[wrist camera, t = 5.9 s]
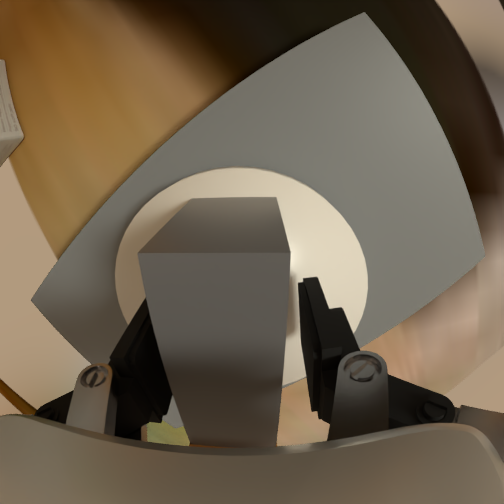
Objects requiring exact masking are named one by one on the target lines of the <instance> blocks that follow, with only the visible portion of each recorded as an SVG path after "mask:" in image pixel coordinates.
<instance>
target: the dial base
mask: <svg viewBox="0 0 504 504" xmlns="http://www.w3.org/2000/svg"><path fill="white" fill-rule="evenodd" d="M229 166H250V167H258V168H264V169H269V170H274V171H276V172H279V173H282V174H285V175H288V176H291V177H293V178H295V179H297V180H299V181H301V182H303V183H304V184H306V185H308V186H309V187H311V188H312V189H313V190H315V191H316V192H318V193H319V194H320V195H322V196H323V197H324V198H325V199H326V200H327V201H328V202H329V203H330V204H331V205H332V206H333V207H334V208H335V209H336V210H337V211H338V212H339V213H340V214H341V215H342V217H343V218H344V219H345V220H346V222H347V223H348V224H349V226H350V227H351V229H352V230H353V232H354V234H355V236H356V238H357V240H358V242H359V243H360V246H361V249H362V252H363V255H364V258H365V262H366V268H367V274H368V292H367V299H366V305H365V308H364V312H363V315H362V318H361V320H360V322H359V325H358V327H357V329H356V331H355V332H354V336H355V339H356V341H357V344H358V346H359V348H361V347H363V346H364V345H366V344H368V343H369V342H371V341H373V340H374V339H376V338H377V337H379V336H381V335H382V334H384V333H385V332H387V331H389V330H390V329H392V328H393V327H395V326H396V325H398V324H399V323H401V322H402V321H404V320H405V319H407V318H408V317H409V316H411V315H412V314H414V313H415V312H417V311H418V310H419V309H421V308H422V307H424V306H425V305H426V304H428V303H429V302H430V301H432V300H433V299H434V298H436V297H437V296H438V295H440V294H441V293H442V292H444V291H445V290H446V289H447V288H449V287H450V286H451V285H452V284H454V283H455V282H456V281H457V280H459V279H460V278H461V277H462V276H463V275H465V274H466V273H467V272H468V271H469V270H470V269H472V268H473V267H474V266H475V265H476V264H477V263H478V262H480V261H481V260H482V259H483V258H484V257H485V252H484V248H483V243H482V239H481V235H480V231H479V227H478V224H477V220H476V216H475V213H474V210H473V206H472V203H471V200H470V197H469V194H468V191H467V188H466V185H465V183H464V180H463V177H462V174H461V172H460V169H459V167H458V164H457V162H456V159H455V157H454V155H453V152H452V150H451V148H450V145H449V143H448V141H447V139H446V137H445V134H444V132H443V130H442V128H441V126H440V124H439V122H438V120H437V118H436V116H435V114H434V112H433V111H432V109H431V107H430V105H429V103H428V101H427V100H426V98H425V96H424V94H423V93H422V91H421V89H420V88H419V86H418V84H417V83H416V81H415V79H414V78H413V76H412V75H411V73H410V72H409V70H408V69H407V67H406V66H405V64H404V63H403V61H402V60H401V58H400V57H399V55H398V54H397V52H396V51H395V50H394V48H393V47H392V46H391V44H390V43H389V42H388V40H387V39H386V38H385V36H384V35H383V34H382V33H381V31H380V30H379V29H378V28H377V26H376V25H375V24H374V23H373V21H372V20H371V19H370V18H369V17H368V16H367V14H366V13H365V12H364V13H362V14H359V15H357V16H355V17H353V18H350V19H348V20H346V21H344V22H342V23H340V24H338V25H336V26H334V27H332V28H330V29H328V30H326V31H324V32H322V33H320V34H318V35H316V36H314V37H312V38H311V39H309V40H307V41H305V42H303V43H302V44H300V45H298V46H296V47H295V48H293V49H291V50H290V51H288V52H286V53H285V54H283V55H281V56H280V57H278V58H276V59H275V60H273V61H272V62H270V63H268V64H267V65H265V66H264V67H262V68H261V69H259V70H258V71H256V72H255V73H253V74H252V75H250V76H249V77H247V78H246V79H245V80H243V81H242V82H240V83H239V84H237V85H236V86H235V87H233V88H232V89H230V90H229V91H228V92H226V93H225V94H224V95H222V96H221V97H220V98H218V99H217V100H216V101H214V102H213V103H212V104H211V105H209V106H208V107H207V108H205V109H204V110H203V111H202V112H200V113H199V114H198V115H197V116H196V117H194V118H193V119H192V120H191V121H189V122H188V123H187V124H186V125H185V126H184V127H182V128H181V129H180V130H179V131H178V132H177V133H175V134H174V135H173V136H172V137H171V138H170V139H169V140H168V141H166V142H165V143H164V144H163V145H162V146H161V147H160V148H159V149H158V150H157V151H155V152H154V153H153V154H152V155H151V156H150V157H149V158H148V159H147V160H146V161H145V162H144V163H143V164H142V165H141V166H140V167H139V168H138V169H137V170H136V171H135V172H134V173H133V174H132V175H131V176H130V177H129V178H128V179H127V180H126V181H125V182H124V183H123V184H122V185H121V186H120V187H119V188H118V189H117V190H116V191H115V192H114V194H113V195H112V196H111V197H110V198H109V199H108V200H107V201H106V202H105V203H104V205H103V206H102V207H101V208H100V209H99V210H98V211H97V213H96V214H95V215H94V216H93V217H92V218H91V219H90V221H89V222H88V223H87V224H86V225H85V227H84V228H83V229H82V230H81V232H80V233H79V234H78V235H77V236H76V238H75V239H74V240H73V241H72V243H71V244H70V245H69V247H68V248H67V249H66V251H65V252H64V253H63V254H62V256H61V257H60V259H59V260H58V261H57V263H56V264H55V265H54V267H53V268H52V270H51V271H50V272H49V274H48V275H47V277H46V278H45V280H44V281H43V283H42V284H41V285H40V287H39V288H38V290H37V291H36V293H35V295H34V296H33V298H32V299H31V301H32V302H33V303H34V305H35V306H36V307H37V308H38V309H39V311H40V312H41V313H42V314H43V315H44V316H45V317H46V319H47V320H48V321H49V322H50V323H51V324H52V325H53V326H54V327H55V328H56V330H57V331H59V332H60V334H61V335H62V336H63V337H64V338H65V339H66V340H67V341H68V342H69V343H70V344H71V345H72V346H73V347H74V348H75V349H76V350H77V351H78V352H79V353H80V354H81V355H82V356H83V357H84V358H85V359H87V360H88V361H89V362H90V363H91V364H96V363H105V364H107V365H108V363H109V361H110V358H109V357H110V355H111V354H112V352H113V350H114V348H115V347H116V345H117V343H118V342H119V340H120V338H121V337H122V335H123V333H124V331H125V330H126V328H127V327H128V324H127V322H126V320H125V318H124V316H123V313H122V310H121V308H120V305H119V302H118V297H117V292H116V285H115V267H116V258H117V254H118V250H119V246H120V243H121V241H122V238H123V236H124V234H125V231H126V230H127V228H128V226H129V225H130V223H131V222H132V220H133V218H134V217H135V216H136V215H137V213H138V212H139V211H140V210H141V209H142V208H143V206H144V205H145V204H146V203H148V202H149V201H150V200H151V199H152V198H154V197H155V196H156V195H157V194H158V193H160V192H161V191H163V190H165V189H166V188H168V187H170V186H171V185H173V184H175V183H176V182H178V181H180V180H182V179H183V178H186V177H188V176H191V175H193V174H196V173H198V172H201V171H205V170H209V169H213V168H218V167H229ZM304 378H306V377H304ZM304 378H302V379H304ZM299 380H301V379H299ZM299 380H297V381H299ZM297 381H295V382H297ZM295 382H292V383H289V384H286V385H282V388H285V387H287V386H289V385H291V384H293V383H295ZM162 420H164V421H165V422H167V423H168V424H170V425H171V426H173V427H174V428H179V427H182V426H184V425H183V422H182V420H181V417H180V414H179V411H178V408H177V406H176V403H175V400H174V397H173V396H172V399H171V403H170V406H169V410H168V413H167V415H165V416H164V415H163V418H162Z"/></svg>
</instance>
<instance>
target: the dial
mask: <svg viewBox="0 0 504 504" xmlns="http://www.w3.org/2000/svg"><path fill="white" fill-rule="evenodd" d="M309 277H318V279H319V282H320V285H321V287H322V290H323V293H324V295H325V298H326V301H327V304H328V307H329V309H331V308H339V307H342V308H343V310H344V312H345V315H346V317H347V319H348V322H349V324H350V327H351V329H352V331H353V334H354V332H355V331H356V329H357V327H358V325H359V322H360V320H361V318H362V315H363V312H364V308H365V305H366V299H367V292H368V274H367V268H366V262H365V258H364V255H363V252H362V249H361V246H360V243H359V242H358V240H357V238H356V236H355V234H354V232H353V230H352V229H351V227H350V226H349V224H348V223H347V222H346V220H345V219H344V218H343V217H342V215H341V214H340V213H339V212H338V211H337V210H336V209H335V208H334V207H333V206H332V205H331V204H330V203H329V202H328V201H327V200H326V199H325V198H324V197H323V196H322V195H320V194H319V193H318V192H316V191H315V190H313V189H312V188H311V187H309V186H308V185H306V184H304V183H303V182H301V181H299V180H297V179H295V178H293V177H291V176H288V175H285V174H282V173H279V172H276V171H274V170H269V169H264V168H258V167H250V166H229V167H218V168H213V169H209V170H205V171H201V172H198V173H196V174H193V175H191V176H188V177H186V178H183V179H182V180H180V181H178V182H176V183H175V184H173V185H171V186H170V187H168V188H166V189H165V190H163V191H161V192H160V193H158V194H157V195H156V196H155V197H154V198H152V199H151V200H150V201H149V202H148V203H146V204H145V205H144V206H143V208H142V209H141V210H140V211H139V212H138V213H137V215H136V216H135V217H134V218H133V220H132V222H131V223H130V225H129V226H128V228H127V230H126V231H125V234H124V236H123V238H122V241H121V243H120V246H119V250H118V254H117V258H116V267H115V285H116V292H117V297H118V302H119V305H120V308H121V310H122V313H123V316H124V318H125V320H126V322H127V324H128V325H129V323H130V322H131V320H132V318H133V317H134V315H135V313H136V312H137V310H138V309H139V307H140V305H141V304H142V302H143V301H144V299H145V298H146V300H147V304H148V308H149V313H150V317H151V321H152V325H153V329H154V333H155V337H156V340H157V344H158V348H159V351H160V355H161V358H162V362H163V365H164V369H165V372H166V375H167V378H168V382H169V385H170V388H171V391H172V394H173V397H174V400H175V403H176V406H177V408H178V411H179V414H180V417H181V420H182V422H183V425H184V428H185V430H186V433H187V435H188V438H189V441H190V445H189V446H192V447H210V448H258V447H277V443H276V441H277V432H278V423H279V413H280V403H281V393H282V385H286V384H289V383H292V382H295V381H297V380H299V379H302V378H304V377H306V371H305V365H304V359H303V353H302V347H301V338H300V316H299V297H298V282H303V278H309Z"/></svg>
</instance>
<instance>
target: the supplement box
mask: <svg viewBox="0 0 504 504" xmlns="http://www.w3.org/2000/svg"><path fill="white" fill-rule="evenodd" d="M23 138H24V135H23V132H22V130H21V127H20V125H19V122H18V119H17V115H16V112H15V109H14V105H13V102H12V98H11V93H10V89H9V84H8V80H7V73H6V67H5V60H1V59H0V167H1V165H2V164H3V163H4V162H5V160H6V159H7V158H8V157H9V155H10V154H11V153H12V152H13V150H14V149H15V148H16V147H17V146H18V145H19V144H20V142H21V141H22V140H23Z"/></svg>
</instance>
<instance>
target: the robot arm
mask: <svg viewBox="0 0 504 504" xmlns="http://www.w3.org/2000/svg"><path fill="white" fill-rule="evenodd" d="M298 297H299V316H300V338H301V347H302V353H303V359H304V365H305V371H306V378H307V384H308V391H309V397H310V404H311V410H312V412H314V411H317V412H318V418H319V419H322V420H323V421H325V422H327V423H329V424H330V428H329V433H328V439H327V441H324V442H317V443H309V444H300V445H290V446H277V447H258V448H210V447H192V446H179V445H169V444H160V443H152V442H147V425H146V424H147V423H149V422H156V423H161V422H162V418H163V415H164V416H165V415H167V413H168V410H169V406H170V403H171V399H172V396H173V394H172V391H171V388H170V385H169V382H168V378H167V375H166V372H165V369H164V365H163V362H162V358H161V355H160V351H159V348H158V344H157V340H156V337H155V333H154V329H153V325H152V321H151V317H150V313H149V308H148V304H147V300H146V298H145V299H144V301H143V302H142V304H141V305H140V307H139V309H138V310H137V312H136V313H135V315H134V317H133V318H132V320H131V322H130V323H129V325H128V327H127V328H126V330H125V331H124V333H123V335H122V337H121V338H120V340H119V342H118V343H117V345H116V347H115V348H114V350H113V352H112V354H111V355H110V357H109V358H110V361H109V363H108V365H107V364H105V363H96V364H92V365H90V366H88V367H86V368H85V369H84V370H82V371H81V373H80V374H79V376H78V378H77V381H76V385H75V388H74V390H73V391H71V392H69V393H67V394H65V395H63V396H61V397H59V398H57V399H55V400H53V401H51V402H48V403H46V404H44V405H43V406H41V407H40V408H39V409H38V410H37V411H36V413H35V415H33V414H32V415H23V414H22V415H21V414H9V415H3V416H0V504H504V413H498V412H493V411H488V410H483V409H478V408H473V407H469V406H464V405H461V407H460V408H457V407H454V405H453V403H452V402H451V401H450V400H449V399H448V398H447V397H445V396H443V395H442V394H439V393H436V392H433V391H430V390H428V389H425V388H422V387H420V386H417V385H414V384H412V383H409V382H406V381H404V380H401V379H399V378H396V377H394V376H391V375H389V374H388V373H387V365H386V362H385V361H384V359H383V358H382V357H381V356H379V355H378V354H376V353H373V352H370V351H360V349H359V346H358V344H357V341H356V339H355V336H354V334H353V331H352V329H351V327H350V324H349V322H348V319H347V317H346V315H345V312H344V310H343V308H342V307H339V308H331V309H329V307H328V304H327V301H326V298H325V295H324V293H323V290H322V287H321V285H320V282H319V279H318V277H309V278H303V282H298Z"/></svg>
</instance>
